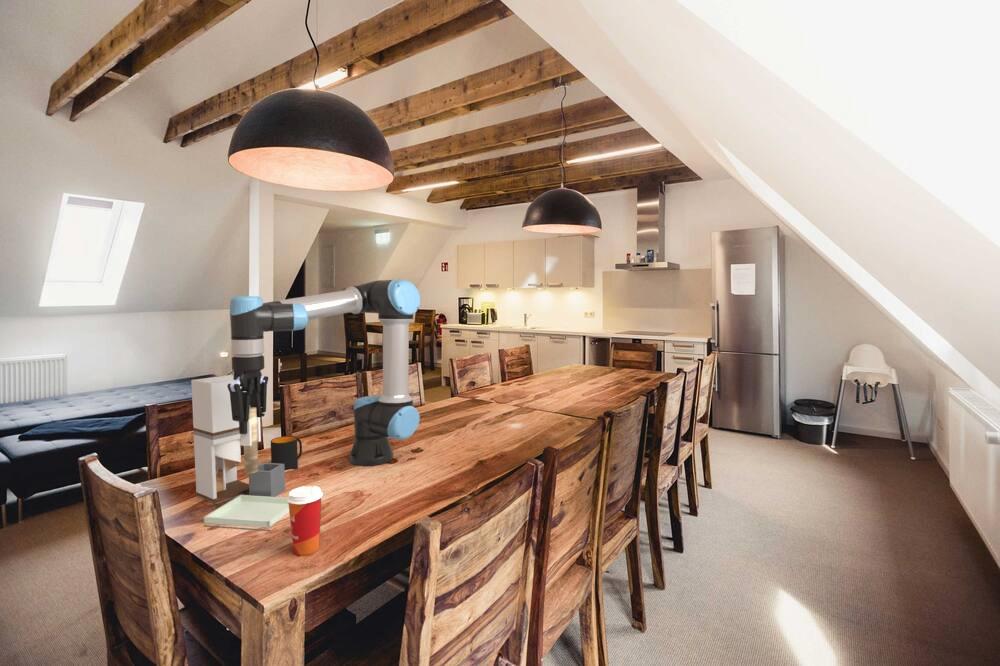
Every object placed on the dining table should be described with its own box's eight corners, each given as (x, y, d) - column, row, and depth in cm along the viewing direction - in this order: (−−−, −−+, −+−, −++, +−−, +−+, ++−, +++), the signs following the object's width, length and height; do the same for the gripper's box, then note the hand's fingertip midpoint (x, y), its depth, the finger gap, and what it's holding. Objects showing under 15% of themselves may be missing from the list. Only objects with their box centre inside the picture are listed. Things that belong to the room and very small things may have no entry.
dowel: (260, 469, 127) (258, 407, 126) (253, 473, 124) (251, 410, 123) (249, 469, 128) (247, 406, 127) (241, 473, 125) (239, 409, 124)
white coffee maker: (216, 507, 133) (210, 383, 130) (196, 498, 138) (191, 380, 136) (255, 493, 142) (251, 377, 140) (235, 485, 148) (231, 374, 145)
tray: (299, 507, 133) (299, 498, 133) (269, 531, 119) (268, 521, 119) (240, 503, 135) (240, 494, 135) (203, 526, 121) (203, 517, 121)
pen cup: (285, 493, 142) (284, 463, 142) (271, 502, 136) (270, 472, 135) (264, 491, 143) (263, 462, 143) (249, 501, 137) (248, 470, 136)
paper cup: (295, 542, 114) (293, 485, 113) (328, 540, 114) (326, 484, 113) (283, 559, 106) (281, 499, 105) (318, 558, 107) (316, 497, 106)
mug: (311, 463, 168) (310, 434, 168) (284, 474, 157) (283, 444, 156) (292, 460, 171) (292, 432, 171) (265, 471, 160) (264, 441, 159)
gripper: (254, 351, 132) (257, 434, 134) (212, 358, 116) (215, 452, 118) (279, 352, 131) (281, 435, 133) (240, 359, 116) (243, 453, 117)
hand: (250, 443), depth 126 cm, fingers closed on dowel, 3 cm apart
